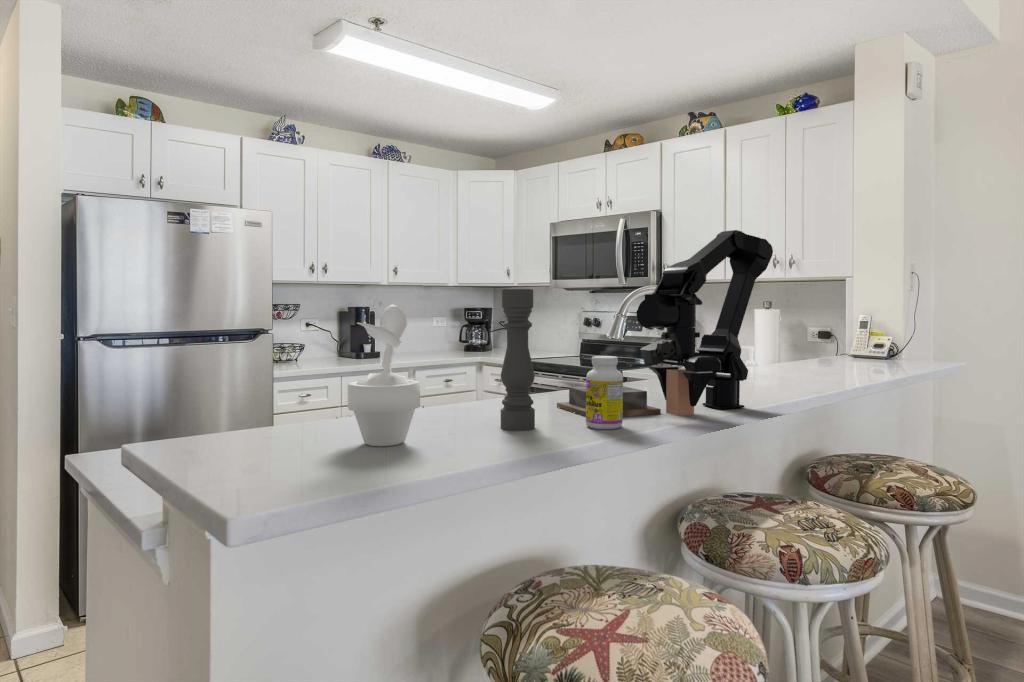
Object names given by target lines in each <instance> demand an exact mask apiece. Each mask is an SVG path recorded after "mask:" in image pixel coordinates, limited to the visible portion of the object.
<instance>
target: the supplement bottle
mask: <svg viewBox="0 0 1024 682" xmlns="http://www.w3.org/2000/svg"><path fill="white" fill-rule="evenodd" d="M618 360H619V359H618V356H616V355H614V356H613V355H596V356H594V355H593V356H591V364H592V369H591V370H589V371H588V372H587V374H586V378H585V379H586V380H585V382H586V384H585V385H586V386H585V387H586V417H585V423H586V424H585V425H586V426H587V427H588V428H590V429H594V430H603V431H605V430H616V429H617V430H618V429H620V428H621V427H622V426H623V420H624V419H623V418H624V416H623V386H624V376H623V373H622V372H621V371H620V370H618V369H617V366H618V363H619V361H618Z"/></svg>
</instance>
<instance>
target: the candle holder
mask: <svg viewBox="0 0 1024 682" xmlns="http://www.w3.org/2000/svg"><path fill="white" fill-rule="evenodd" d="M501 308H502V310H503V311H502V312H503V313H504V315H505V318H506V320H505V321H504V322H503V324H502V327H503V328H505V331H506V350H505V354H504V359H503V363H502V367H501V372H500V380H501V381H500V382H501V383H502V385H503V386H504V387H505V390H504V391H505V392H506V395H505V396H504V398H503V399H502V401H501V404H502V405H503V407H501V408H500V429H501V430H505V431H511V432H513V431H514V432H517V431H518V432H520V431H521V432H523V431H530V430H534V429H535V428H536V427H535V423H536V418H535V417H536V412H535V410H536V409H535V408H534V407H532V405H534V400H533V399H532V397H531V395H530V394H529V392H531V389H530V388H531V387H532V385H533V383H534V382H535V371H534V366H533V363H532V358H531V357H532V356H531V353H530V348H529V331H530V329H531V328H532V327H533V322H531V321H530V320H529V318H530V316H531V314H532V312H533V310H532V309H533V308H534V289H533V288H531V289H530V288H529V289H528V288H526V289H525V288H508V289H506V288H505V289H501Z"/></svg>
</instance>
